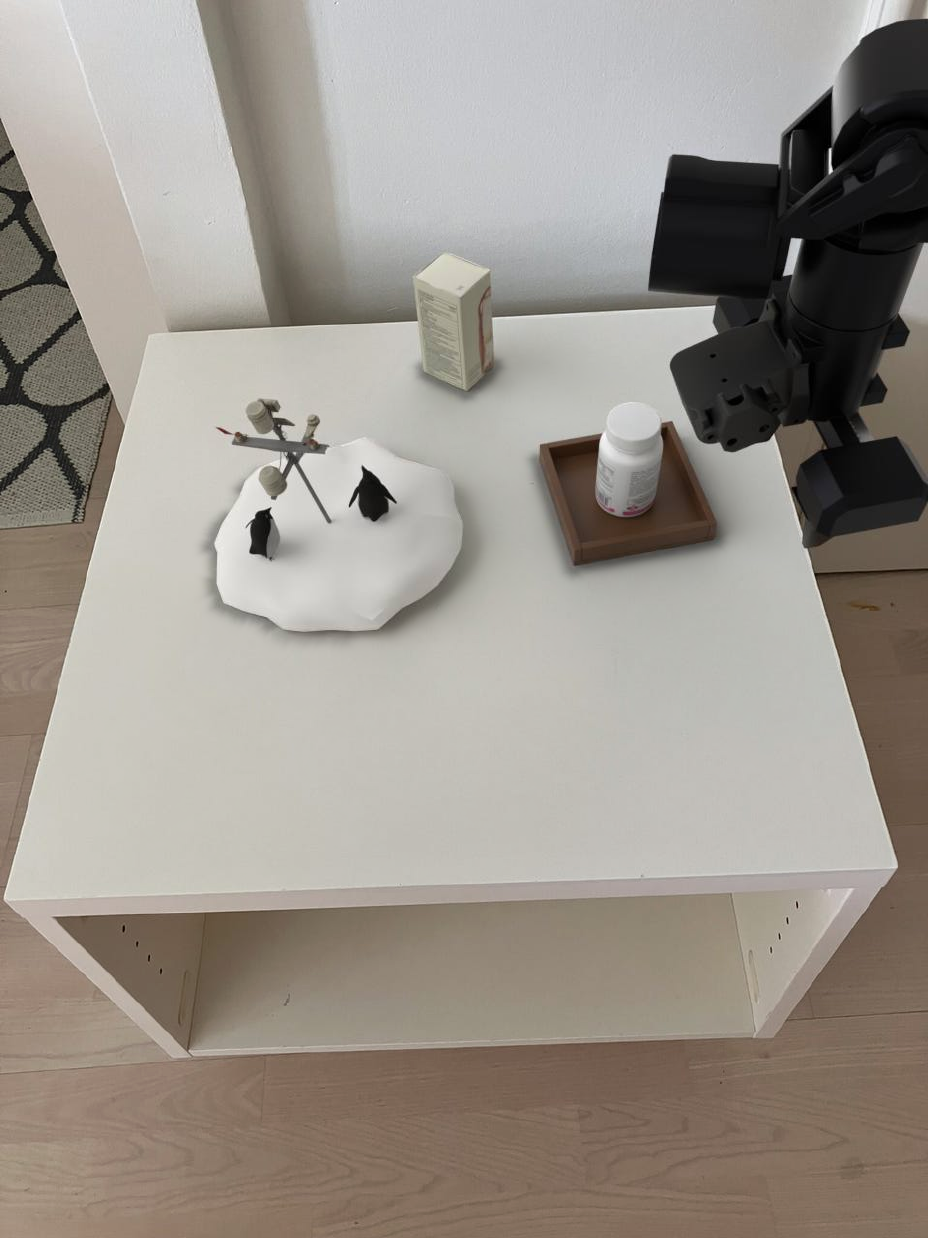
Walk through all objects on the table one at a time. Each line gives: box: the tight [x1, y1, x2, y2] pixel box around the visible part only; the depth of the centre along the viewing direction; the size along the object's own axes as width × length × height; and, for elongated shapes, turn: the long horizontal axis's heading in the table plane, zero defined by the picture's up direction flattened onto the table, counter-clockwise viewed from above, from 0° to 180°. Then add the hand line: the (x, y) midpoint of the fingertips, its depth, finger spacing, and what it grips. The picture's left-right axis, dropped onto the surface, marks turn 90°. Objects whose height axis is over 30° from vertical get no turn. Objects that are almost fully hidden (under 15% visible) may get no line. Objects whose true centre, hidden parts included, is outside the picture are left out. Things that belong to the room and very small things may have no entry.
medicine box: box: [412, 250, 495, 392], centre depth 87 cm, size 5×4×10 cm
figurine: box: [213, 398, 464, 633], centre depth 74 cm, size 20×18×16 cm
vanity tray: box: [538, 420, 718, 566], centre depth 81 cm, size 11×11×2 cm
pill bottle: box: [595, 401, 663, 517], centre depth 78 cm, size 5×5×8 cm
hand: (784, 491), depth 67 cm, fingers open, 9 cm apart
